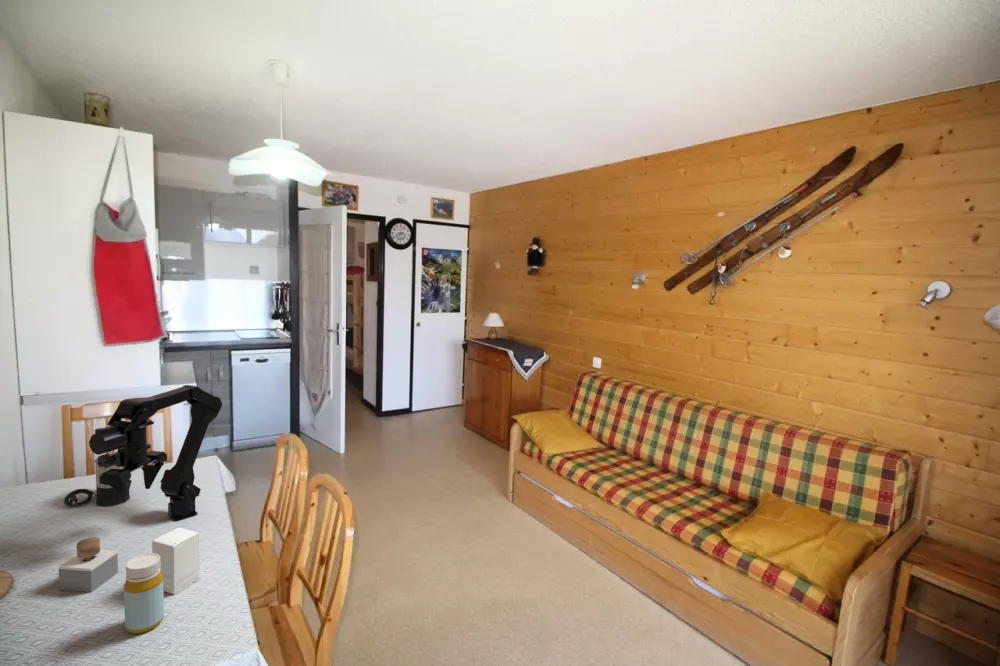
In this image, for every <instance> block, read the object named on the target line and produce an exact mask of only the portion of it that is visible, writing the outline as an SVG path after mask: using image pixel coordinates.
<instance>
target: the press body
mask: <svg viewBox="0 0 1000 666" xmlns="http://www.w3.org/2000/svg"><path fill="white" fill-rule="evenodd" d="M118 556H119V555H118V550H109V549H100V552H99V553H98V554H96V555H94V556H92V560H91V561H86V558H78V557H77V554H76V555H74V556H72V557H71V558H69V559H68V560H67V561H65V562H64V563H62V564H61V565H58V581H59V582H58V583H59V584H58V586H59V587H58V588H59V590H60V591H70V590H73V591H72V592H83V591H85V592H86V593H93V592H94V591H95V590H97V589H98V588H99V587H102V585H103V584H105V583H106V582H107V581H109V580H110V579H111V578H113V577H115V575H117V574H118V573H119V563H118V562H119V560H118Z"/></svg>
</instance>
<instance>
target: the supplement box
mask: <svg viewBox="0 0 1000 666" xmlns="http://www.w3.org/2000/svg"><path fill="white" fill-rule="evenodd" d="M151 545H152V547H151V548H152V553H153V554H158V555H159V556H160V561H161V566H160V571H161V573H162V575H163V592H166V593H168V594H172V595H176V594H178V593H180V592H181V591H182V590H184V589H186V588H187V587H189V586H191V585H192V584H194V583H196V582H198V581H199V580H201V570H200V569H201V568H200V567H201V566H200V564H201V563H200V560H201V559H200V533H199V532H196V531H192V530H191V529H190V530H189V529H186V528H184V527H183V528H182V527H176V528H175V529H173V530H170V531H168V532H166V533H164V534H162V535H161V536H158V537H156V538H155V539H152V541H151ZM195 581H196V582H195ZM193 582H194V583H193ZM190 584H191V585H190Z"/></svg>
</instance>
